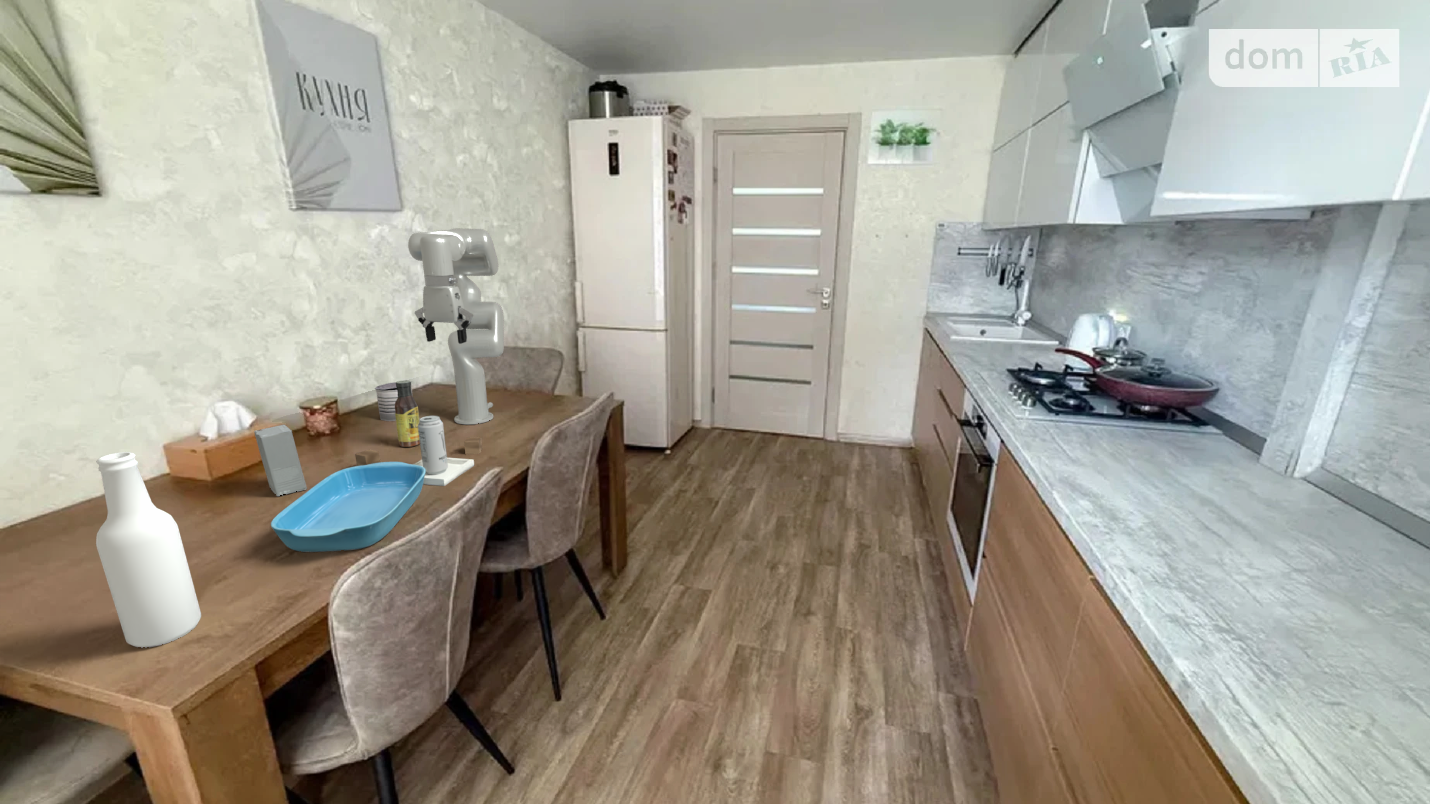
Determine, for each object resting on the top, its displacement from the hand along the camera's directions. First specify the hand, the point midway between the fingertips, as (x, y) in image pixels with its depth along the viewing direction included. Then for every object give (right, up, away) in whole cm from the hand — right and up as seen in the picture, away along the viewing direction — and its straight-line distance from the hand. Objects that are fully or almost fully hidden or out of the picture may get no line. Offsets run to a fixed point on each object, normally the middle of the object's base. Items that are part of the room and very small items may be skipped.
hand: (447, 341), depth 163 cm
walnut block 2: (+5, -32, +6) cm, 33 cm away
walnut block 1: (-17, -36, -9) cm, 41 cm away
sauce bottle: (-16, -31, +11) cm, 36 cm away
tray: (+2, -37, -10) cm, 38 cm away
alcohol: (-11, -54, -73) cm, 91 cm away
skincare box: (-30, -39, -21) cm, 54 cm away
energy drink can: (+2, -36, -10) cm, 38 cm away
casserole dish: (-2, -44, -36) cm, 57 cm away
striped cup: (-35, -23, +38) cm, 56 cm away
